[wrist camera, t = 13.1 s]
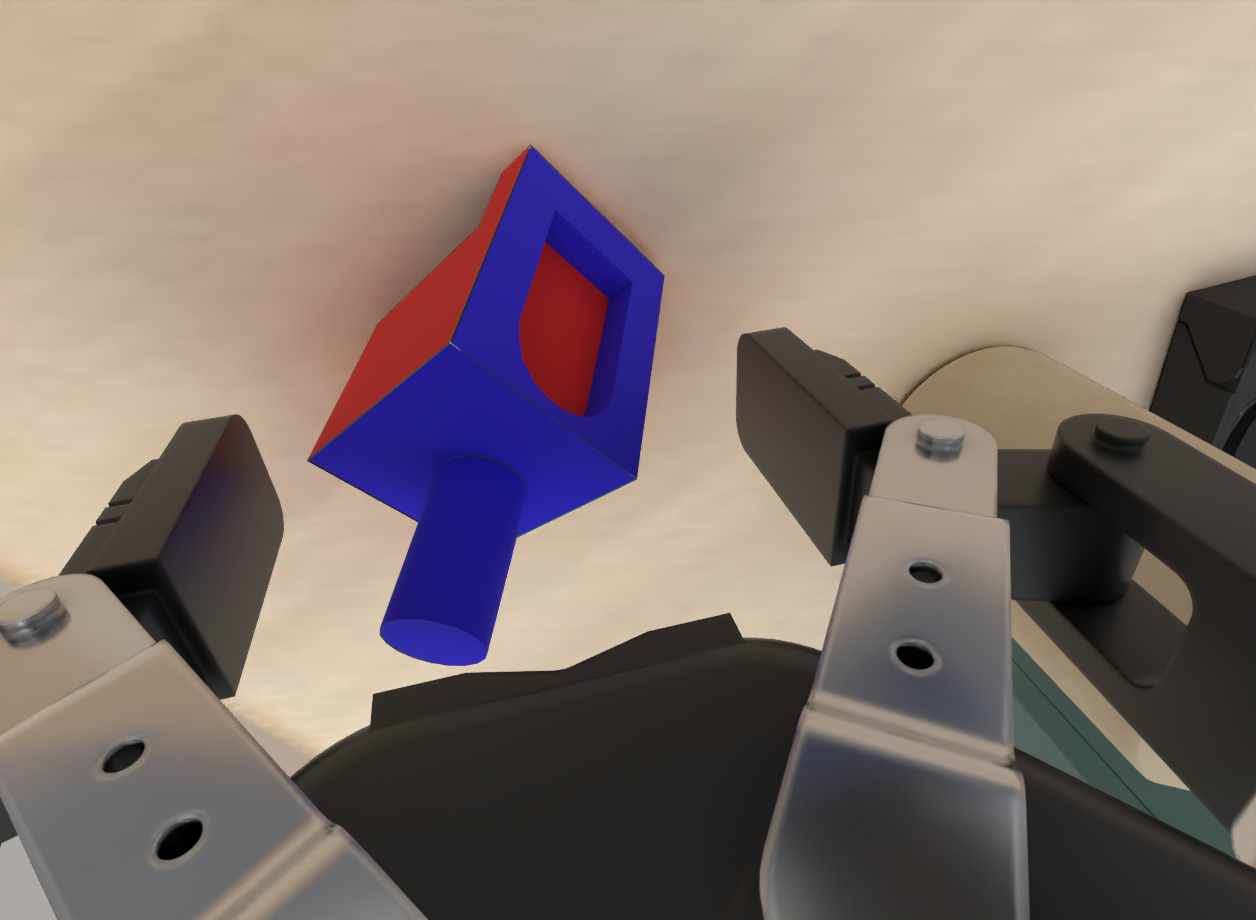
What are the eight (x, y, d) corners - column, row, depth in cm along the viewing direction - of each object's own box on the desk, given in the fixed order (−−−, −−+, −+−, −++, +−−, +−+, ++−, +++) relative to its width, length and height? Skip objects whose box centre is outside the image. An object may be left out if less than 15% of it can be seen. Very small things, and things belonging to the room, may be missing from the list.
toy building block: (405, 269, 15) (227, 615, 10) (531, 143, 12) (377, 520, 7) (533, 367, 17) (437, 700, 12) (665, 274, 14) (615, 647, 9)
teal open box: (933, 601, 22) (1173, 881, 15) (1235, 532, 24) (1579, 752, 17) (877, 833, 30) (1019, 1096, 22) (1111, 767, 32) (1313, 990, 24)
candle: (898, 550, 21) (1207, 901, 12) (852, 411, 18) (1221, 758, 9) (1068, 460, 20) (1501, 760, 12) (1051, 302, 17) (1620, 561, 9)
